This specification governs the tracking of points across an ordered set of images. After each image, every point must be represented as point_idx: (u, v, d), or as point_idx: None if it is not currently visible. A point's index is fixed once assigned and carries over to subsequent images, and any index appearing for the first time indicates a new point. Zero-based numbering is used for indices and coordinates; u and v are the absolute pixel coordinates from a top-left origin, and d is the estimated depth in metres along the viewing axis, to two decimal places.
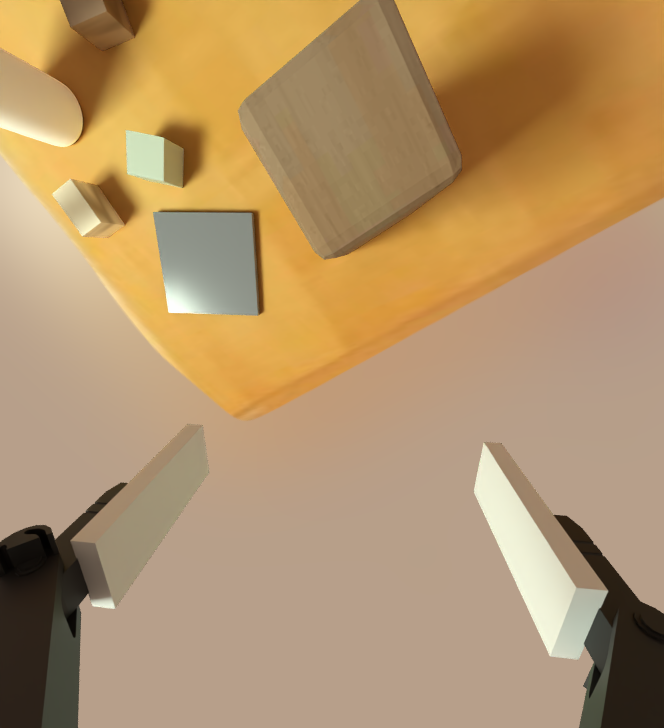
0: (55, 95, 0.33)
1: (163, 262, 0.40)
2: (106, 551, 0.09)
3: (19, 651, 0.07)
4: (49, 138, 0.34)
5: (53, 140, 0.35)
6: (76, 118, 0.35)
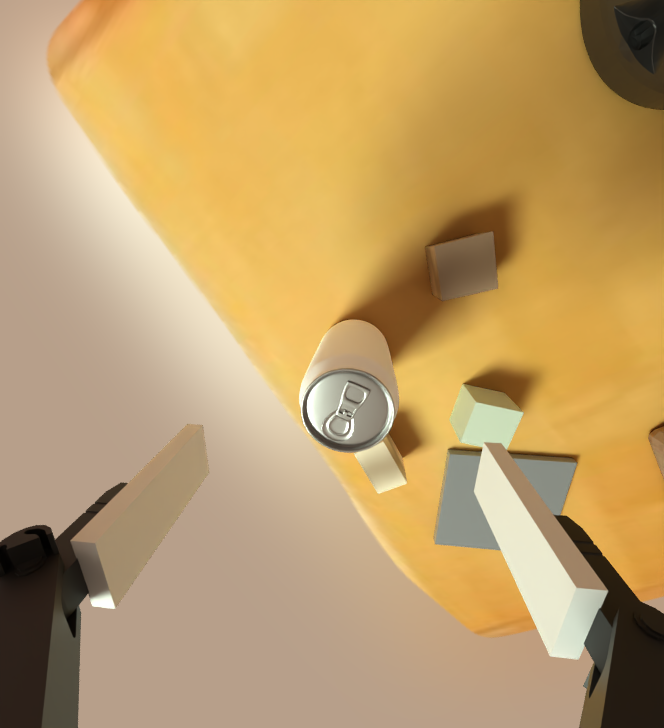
0: None
1: (445, 499, 0.34)
2: (106, 551, 0.09)
3: (19, 651, 0.07)
4: None
5: None
6: None
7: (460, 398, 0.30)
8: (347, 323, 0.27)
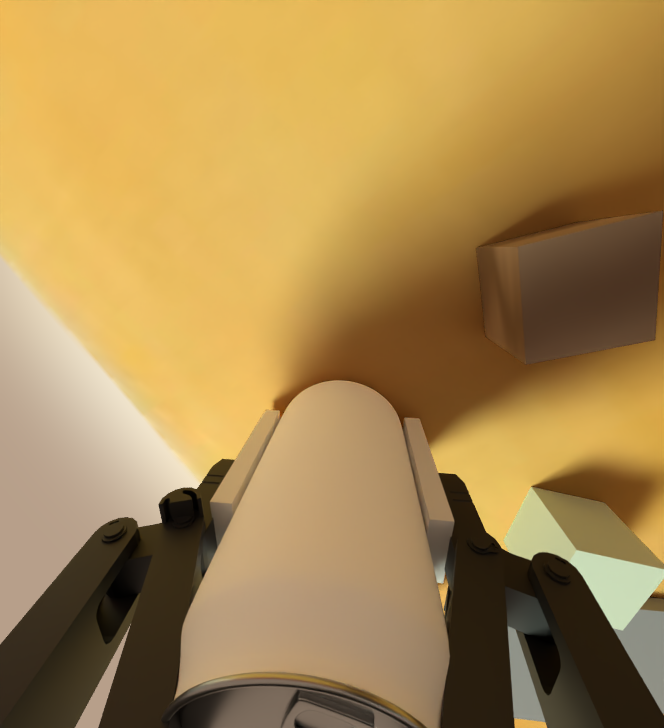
0: None
1: None
2: None
3: (168, 597, 0.08)
4: None
5: None
6: None
7: (528, 513, 0.17)
8: (326, 394, 0.14)
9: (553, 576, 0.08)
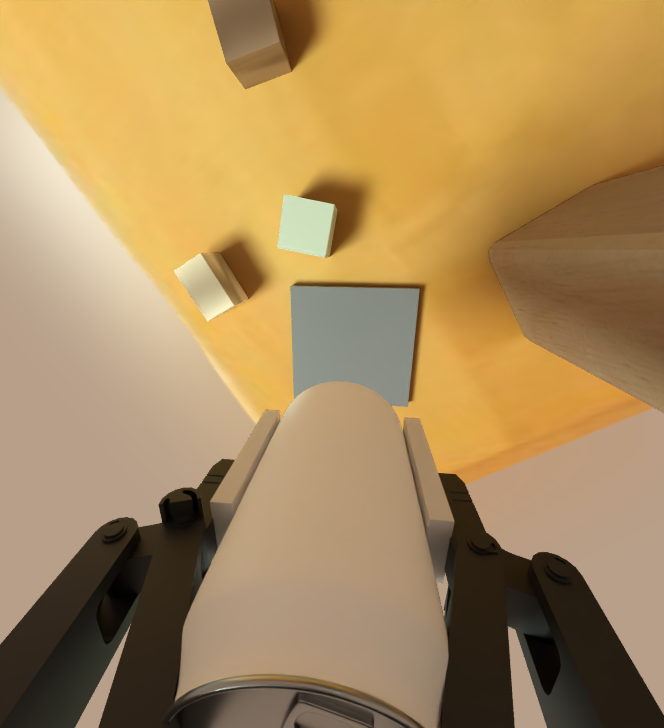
0: None
1: (295, 344, 0.32)
2: None
3: (168, 597, 0.08)
4: None
5: None
6: None
7: None
8: (326, 395, 0.14)
9: (553, 575, 0.08)
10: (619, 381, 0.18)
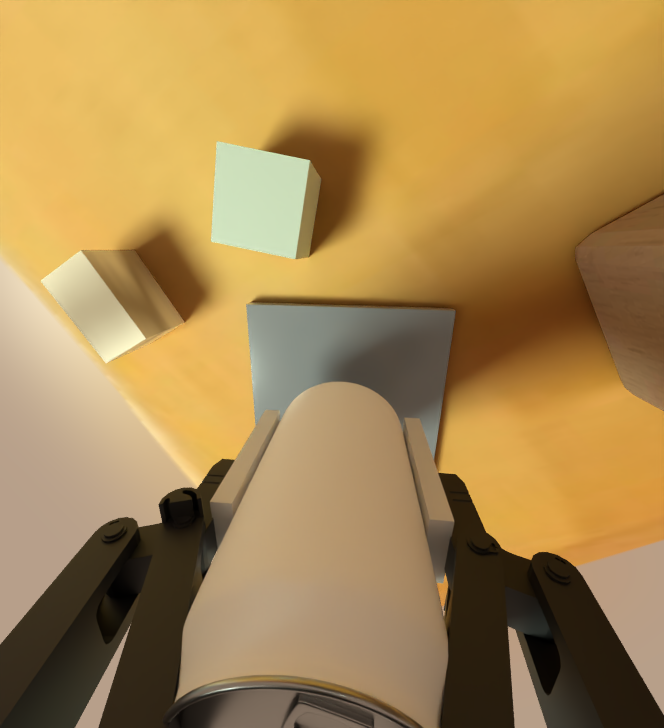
0: None
1: (258, 393, 0.21)
2: None
3: (168, 597, 0.08)
4: None
5: None
6: None
7: None
8: (326, 395, 0.14)
9: (552, 576, 0.08)
10: None
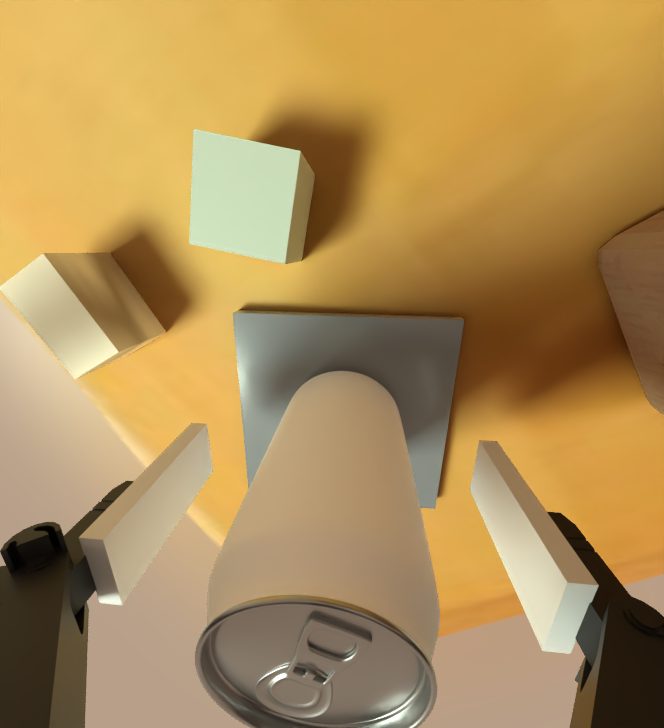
0: None
1: (246, 409, 0.19)
2: (114, 548, 0.10)
3: (28, 647, 0.07)
4: None
5: None
6: None
7: None
8: (329, 383, 0.16)
9: None
10: None
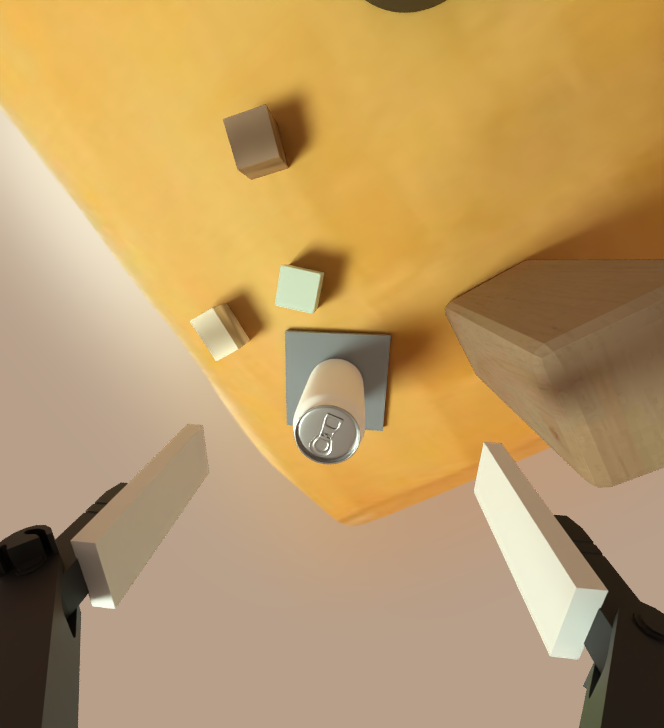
0: None
1: (288, 378, 0.38)
2: (106, 551, 0.09)
3: (19, 651, 0.07)
4: None
5: None
6: None
7: None
8: (330, 363, 0.35)
9: None
10: (527, 422, 0.25)
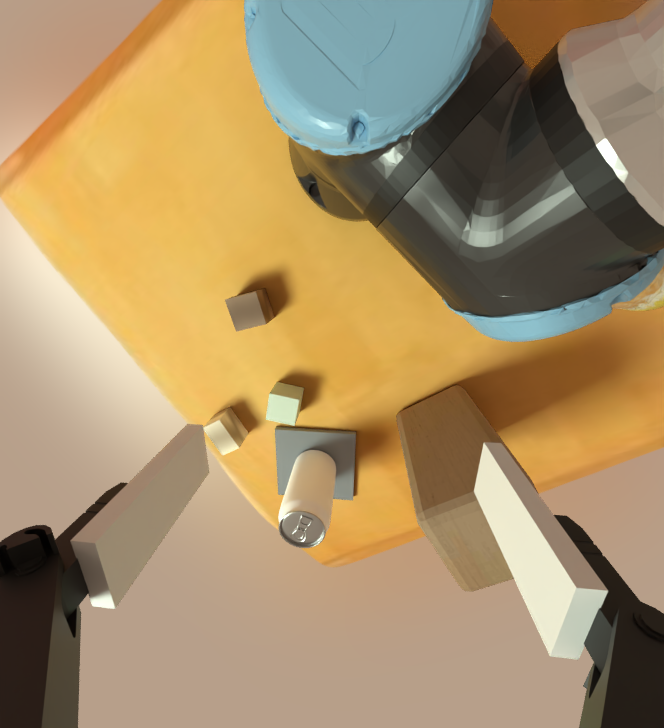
0: (334, 480, 0.45)
1: (278, 461, 0.49)
2: (106, 551, 0.09)
3: (19, 651, 0.07)
4: None
5: None
6: None
7: None
8: (309, 456, 0.46)
9: None
10: None
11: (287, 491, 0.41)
